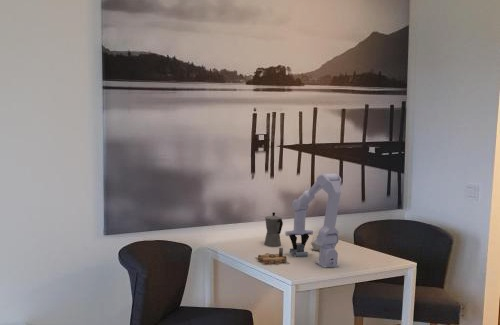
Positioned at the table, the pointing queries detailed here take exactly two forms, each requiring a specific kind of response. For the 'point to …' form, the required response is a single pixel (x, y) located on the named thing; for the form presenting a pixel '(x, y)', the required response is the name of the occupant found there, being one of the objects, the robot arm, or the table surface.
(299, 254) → the seat
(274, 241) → the coffeepot
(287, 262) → the thin square base plate
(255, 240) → the table surface
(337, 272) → the table surface
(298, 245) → the dark grey block
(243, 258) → the table surface
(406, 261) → the table surface
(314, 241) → the grey faceted polyhedron
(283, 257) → the sprocket
